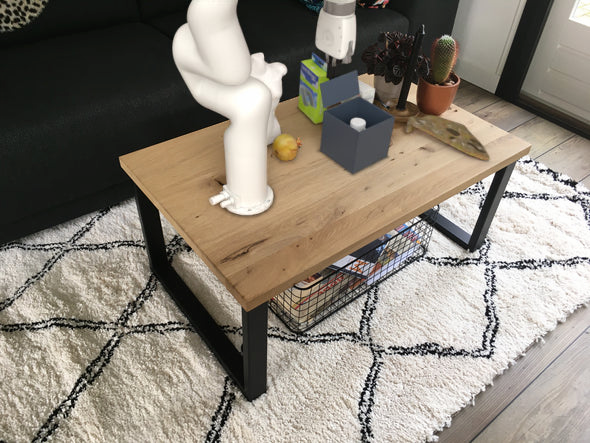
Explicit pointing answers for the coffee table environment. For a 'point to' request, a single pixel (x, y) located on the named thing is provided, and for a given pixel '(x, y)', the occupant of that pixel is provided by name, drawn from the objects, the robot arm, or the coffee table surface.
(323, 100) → the flap
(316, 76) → the box
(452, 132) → the decorative stone
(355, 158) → the carton
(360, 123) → the pill bottle
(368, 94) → the ink box
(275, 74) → the torso sculpture
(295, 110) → the coffee table surface
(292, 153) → the fruit
